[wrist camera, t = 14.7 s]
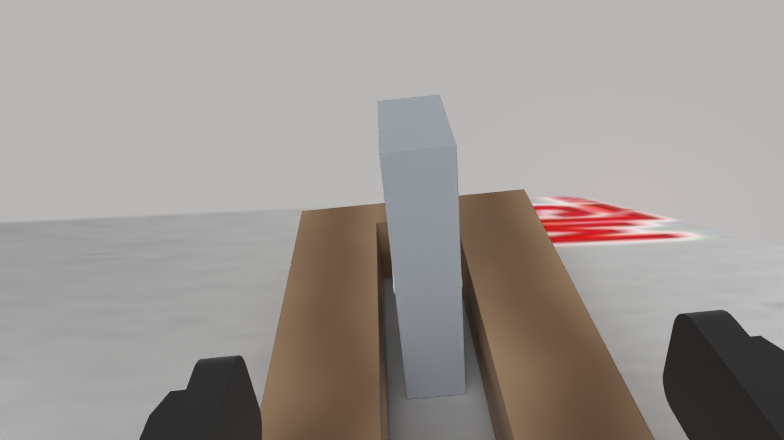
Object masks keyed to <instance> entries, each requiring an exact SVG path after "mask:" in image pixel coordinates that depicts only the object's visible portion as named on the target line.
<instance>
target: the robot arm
mask: <svg viewBox="0 0 784 440" xmlns="http://www.w3.org/2000/svg"><path fill="white" fill-rule="evenodd" d="M663 385H664V391H665V395H666V398H667V401H668V403H669V406H670V408H671V410H672V411H673V413H674V415H675V416H676V418H677V420H678V421H679V423H680V425H681V427H682V428H683V430H684V432H685V433H686V435H687V437H688V438H689V440H784V351H783V350H782V349H780V348H779V347H777V346H776V345H774V344H773V343H771V342H769V341H768V340H766V339H765V338H763V337H762V336H754V337H750V336H749V335H748V334H747V333H746V331H745V330H744V329H743V328H742V327H741V326H740V325H739V323H738V322H737V321H736V320H735V319H734V318H733V317H732V315H731V314H729V313H728V312H726V311H724V310H716V311H705V312H695V313H685V314H679V315H678V316H677V317H676V319H675V321H674V325H673V329H672V334H671V339H670V343H669V348H668V353H667V358H666V362H665V367H664V372H663ZM139 440H262V419H261V413H260V409H259V406H258V402H257V399H256V396H255V393H254V390H253V386H252V383H251V380H250V377H249V374H248V370H247V367H246V364H245V361H244V359H243V358H242V356H229V357H219V358H208V359H200V360H199V361H198V362H197V363H196V365H195V367H194V370H193V372H192V375H191V378H190V380H189V383H188V386H187V389H186V390H179V391H170V392H169V394H168V395H167V396H166V397H165V398H164V399H163V401H162V402H161V403H160V404H159V405H158V406H157V407H156V409H155V410H154V411H153V412H152V413H151V414H150V416H149V418H148V420H147V423H146V425H145V427H144V430H143V432H142V435H141V437H140V439H139Z"/></svg>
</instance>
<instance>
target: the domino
mask: <svg viewBox="0 0 784 440" xmlns="http://www.w3.org/2000/svg"><path fill="white" fill-rule="evenodd" d="M378 125H379V155H380V162H381V172H382V181H383V190H384V199H385V208H386V216H387V225H388V234H389V243H390V252H391V261H392V273H393V289H394V293H395V296H396V305H397V313H398V322H399V331H400V340H401V349H402V358H403V366H404V375H405V384H406V393H407V399H415V398H426V397H437V396H448V395H459V394H466V391H465V364H464V336H463V309H462V277H461V253H460V226H459V198H458V173H457V171H458V170H457V145H456V143H455V139H454V136H453V133H452V130H451V128H450V124H449V121H448V118H447V115H446V112H445V110H444V107H443V104H442V101H441V98H440V95H433V96H424V97H413V98H403V99H393V100H384V101H378Z"/></svg>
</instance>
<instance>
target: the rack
mask: <svg viewBox="0 0 784 440" xmlns="http://www.w3.org/2000/svg"><path fill="white" fill-rule="evenodd" d="M458 198H459V226H460V253H461V277H462V295H463V300H464V304H465V308H466V313H467V317H468V321H469V325H470V330H471V334H472V338H473V343H474V347H475V351H476V356H477V360H478V364H479V369H480V373H481V377H482V381H483V386H484V390H485V394H486V399H487V403H488V407H489V412H490V416H491V420H492V425H493V429H494V433H495V437H496V440H655V439H654V438H653V436H652V434H651V432H650V430H649V428H648V426H647V424H646V422H645V420H644V418H643V416H642V415H641V413H640V411H639V409H638V407H637V405H636V403H635V401H634V399H633V397H632V395H631V393H630V392H629V390H628V388H627V386H626V384H625V382H624V380H623V378H622V376H621V374H620V372H619V371H618V369H617V367H616V365H615V363H614V361H613V359H612V357H611V355H610V353H609V351H608V349H607V348H606V346H605V344H604V342H603V340H602V338H601V336H600V334H599V332H598V330H597V328H596V326H595V325H594V323H593V321H592V319H591V317H590V315H589V313H588V311H587V309H586V307H585V305H584V303H583V302H582V300H581V298H580V296H579V294H578V292H577V290H576V288H575V286H574V284H573V282H572V280H571V279H570V277H569V275H568V273H567V271H566V269H565V267H564V265H563V263H562V261H561V259H560V257H559V256H558V254H557V252H556V250H555V248H554V246H553V244H552V242H551V240H550V238H549V236H548V234H547V233H546V231H545V229H544V227H543V225H542V223H541V221H540V219H539V217H538V215H537V213H536V211H535V210H534V208H533V206H532V204H531V202H530V200H529V198H528V196H527V194H526V192H525V191H524V190H513V191H504V192H493V193H484V194H473V195H462V196H458ZM392 277H393V273H392V261H391V252H390V243H389V234H388V225H387V216H386V208H385V203H381V204H371V205H361V206H351V207H340V208H330V209H320V210H310V211H302V214H301V219H300V224H299V229H298V233H297V238H296V243H295V248H294V252H293V257H292V262H291V267H290V271H289V276H288V281H287V286H286V290H285V295H284V300H283V305H282V310H281V314H280V319H279V324H278V329H277V333H276V338H275V343H274V348H273V352H272V357H271V362H270V367H269V371H268V376H267V381H266V386H265V390H264V395H263V400H262V405H261V410H260V413H261V419H262V440H389V427H388V400H387V372H386V345H385V317H384V290H383V278H392Z"/></svg>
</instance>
